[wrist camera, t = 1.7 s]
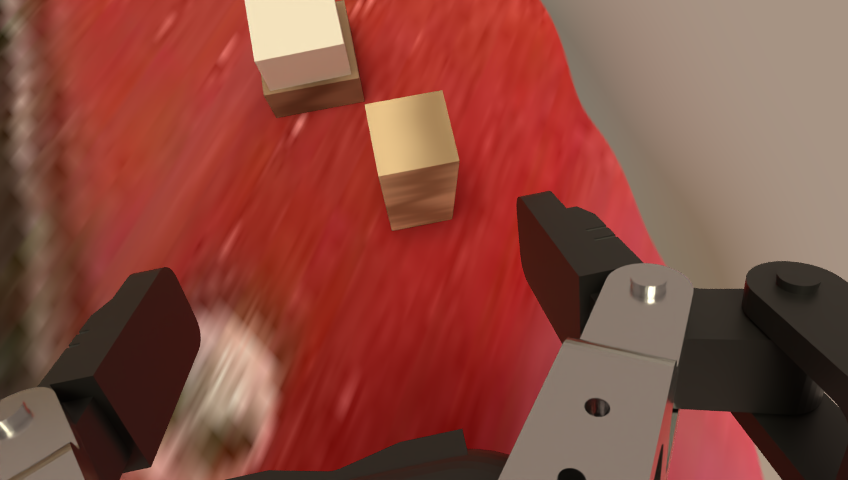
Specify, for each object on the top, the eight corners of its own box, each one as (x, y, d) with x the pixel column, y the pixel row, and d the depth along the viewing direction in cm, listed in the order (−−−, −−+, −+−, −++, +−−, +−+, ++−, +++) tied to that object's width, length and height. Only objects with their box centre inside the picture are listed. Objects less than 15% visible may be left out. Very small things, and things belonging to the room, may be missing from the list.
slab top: (270, 91, 37) (254, 61, 34) (259, 23, 39) (242, -12, 35) (351, 74, 37) (343, 43, 34) (336, 8, 39) (328, -28, 36)
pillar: (391, 230, 37) (378, 176, 28) (381, 175, 39) (364, 104, 29) (452, 219, 38) (459, 161, 28) (439, 163, 39) (442, 90, 29)
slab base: (277, 120, 40) (264, 95, 37) (267, 45, 42) (253, 16, 39) (365, 103, 41) (359, 78, 37) (350, 30, 43) (344, 0, 39)
